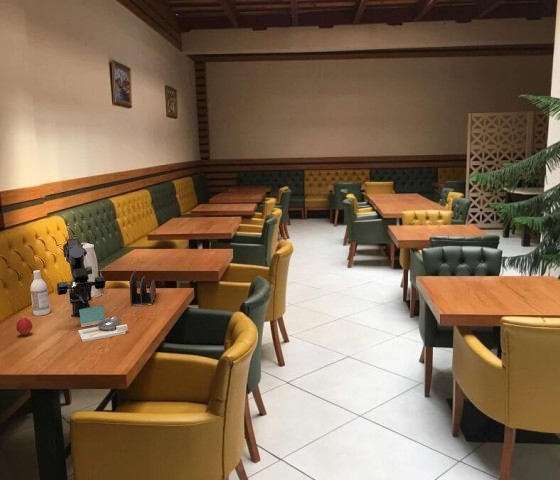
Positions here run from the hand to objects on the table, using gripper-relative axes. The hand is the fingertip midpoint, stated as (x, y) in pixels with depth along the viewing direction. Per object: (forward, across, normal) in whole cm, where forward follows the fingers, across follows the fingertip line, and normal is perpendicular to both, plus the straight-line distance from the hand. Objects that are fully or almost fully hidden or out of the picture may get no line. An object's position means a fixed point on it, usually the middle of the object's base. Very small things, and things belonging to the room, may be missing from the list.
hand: (85, 302), depth 208 cm
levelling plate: (+14, +4, +2) cm, 15 cm away
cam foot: (+11, +4, +2) cm, 12 cm away
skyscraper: (-30, +11, +46) cm, 56 cm away
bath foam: (-17, -15, +33) cm, 40 cm away
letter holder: (-13, +30, +29) cm, 44 cm away
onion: (+3, -23, +13) cm, 27 cm away
